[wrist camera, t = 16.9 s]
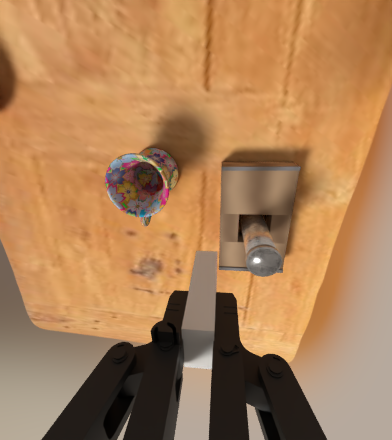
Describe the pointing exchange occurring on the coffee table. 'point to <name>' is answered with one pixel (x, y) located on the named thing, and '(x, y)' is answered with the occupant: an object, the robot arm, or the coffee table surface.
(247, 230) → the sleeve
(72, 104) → the coffee table surface
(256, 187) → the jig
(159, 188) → the floral flared cup
